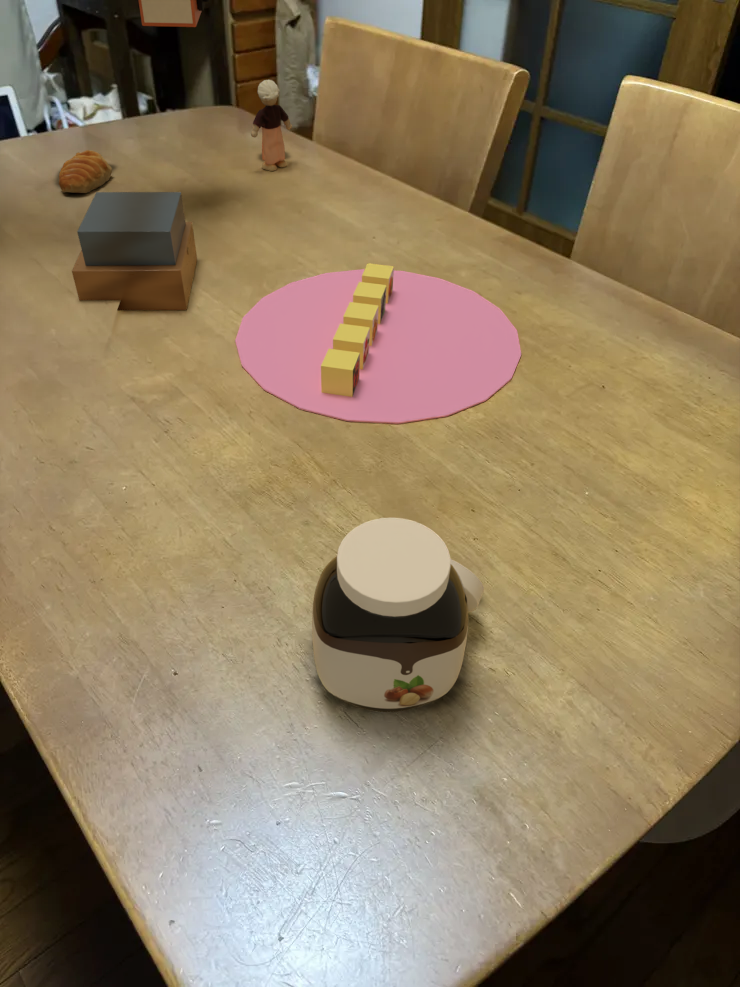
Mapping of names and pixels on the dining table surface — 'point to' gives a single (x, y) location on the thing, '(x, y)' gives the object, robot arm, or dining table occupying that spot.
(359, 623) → the spread jar
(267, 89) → the grandmother figurine
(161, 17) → the orange box
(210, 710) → the dining table surface
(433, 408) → the platter
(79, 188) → the pastry
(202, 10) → the robot arm
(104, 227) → the box stack
